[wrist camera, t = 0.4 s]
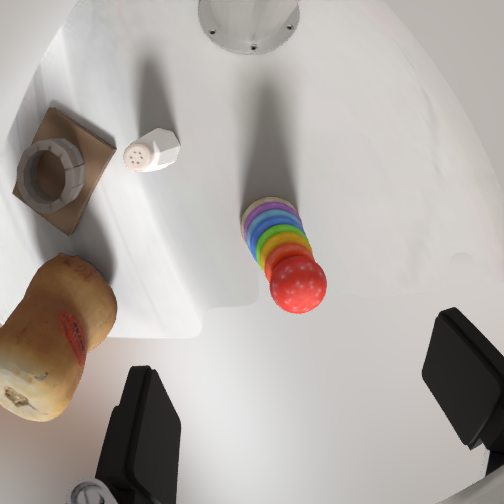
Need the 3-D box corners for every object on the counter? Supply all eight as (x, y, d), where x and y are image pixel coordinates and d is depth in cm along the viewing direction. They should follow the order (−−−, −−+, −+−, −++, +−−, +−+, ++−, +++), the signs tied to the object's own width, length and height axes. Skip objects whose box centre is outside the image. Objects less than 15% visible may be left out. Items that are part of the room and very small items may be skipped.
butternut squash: (139, 310, 46) (94, 445, 23) (75, 326, 46) (16, 439, 23) (102, 230, 40) (4, 339, 17) (37, 255, 41) (-57, 352, 18)
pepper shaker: (163, 177, 38) (141, 196, 28) (131, 152, 37) (100, 163, 27) (189, 144, 37) (175, 151, 27) (157, 119, 35) (132, 118, 25)
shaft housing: (54, 107, 33) (35, 107, 28) (116, 149, 36) (102, 153, 32) (17, 190, 36) (-1, 199, 32) (73, 232, 40) (57, 245, 35)
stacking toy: (236, 248, 43) (245, 333, 26) (244, 191, 40) (259, 246, 23) (292, 254, 44) (332, 336, 27) (303, 199, 41) (357, 256, 24)
